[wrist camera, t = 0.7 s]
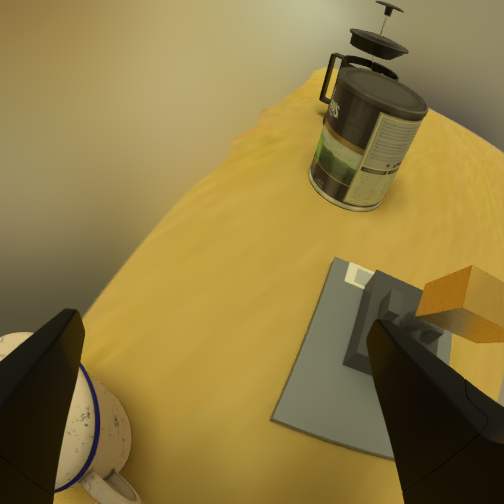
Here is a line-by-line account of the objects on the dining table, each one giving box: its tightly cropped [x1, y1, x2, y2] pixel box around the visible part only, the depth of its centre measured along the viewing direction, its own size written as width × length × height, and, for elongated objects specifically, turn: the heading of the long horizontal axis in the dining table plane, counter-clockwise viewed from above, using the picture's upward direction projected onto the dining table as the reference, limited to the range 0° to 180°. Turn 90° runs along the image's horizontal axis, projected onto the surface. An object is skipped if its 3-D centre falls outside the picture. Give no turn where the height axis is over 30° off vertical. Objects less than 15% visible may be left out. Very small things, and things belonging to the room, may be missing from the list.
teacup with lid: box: [0, 332, 142, 504], centre depth 13 cm, size 12×9×12 cm
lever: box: [403, 265, 504, 343], centre depth 17 cm, size 2×5×12 cm, turn 66°
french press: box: [319, 1, 409, 125], centre depth 39 cm, size 12×9×23 cm
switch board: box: [270, 257, 452, 461], centre depth 22 cm, size 16×14×6 cm
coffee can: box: [309, 67, 428, 212], centre depth 33 cm, size 10×10×14 cm
